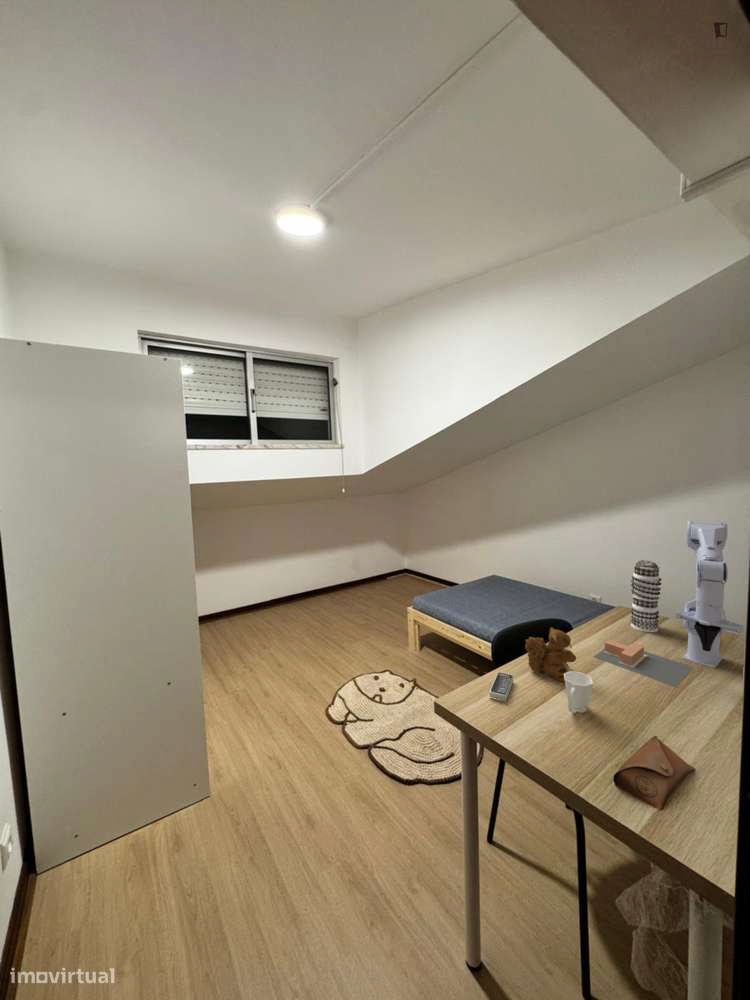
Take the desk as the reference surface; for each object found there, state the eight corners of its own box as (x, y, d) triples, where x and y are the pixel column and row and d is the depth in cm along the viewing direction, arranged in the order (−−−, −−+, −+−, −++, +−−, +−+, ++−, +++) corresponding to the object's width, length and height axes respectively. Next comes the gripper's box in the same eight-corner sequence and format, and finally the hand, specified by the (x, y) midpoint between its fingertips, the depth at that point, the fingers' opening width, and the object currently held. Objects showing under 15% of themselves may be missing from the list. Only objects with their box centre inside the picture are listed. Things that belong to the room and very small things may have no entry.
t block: (613, 645, 133) (613, 636, 132) (643, 655, 125) (644, 646, 125) (599, 654, 127) (600, 646, 126) (631, 665, 119) (631, 656, 119)
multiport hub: (489, 699, 107) (489, 691, 107) (498, 679, 116) (498, 671, 116) (505, 703, 105) (505, 695, 104) (513, 682, 114) (513, 675, 114)
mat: (614, 642, 135) (614, 641, 135) (694, 668, 118) (694, 667, 118) (593, 658, 126) (593, 656, 126) (676, 688, 108) (676, 687, 108)
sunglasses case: (662, 814, 71) (642, 773, 73) (625, 808, 76) (607, 770, 78) (697, 767, 81) (679, 732, 83) (662, 765, 86) (646, 732, 89)
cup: (596, 706, 102) (597, 677, 101) (585, 726, 94) (585, 694, 94) (567, 695, 107) (568, 667, 106) (554, 714, 99) (555, 684, 98)
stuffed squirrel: (577, 685, 111) (577, 641, 110) (524, 676, 117) (524, 634, 115) (574, 667, 120) (574, 626, 119) (525, 660, 126) (525, 620, 125)
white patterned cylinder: (661, 634, 140) (664, 566, 137) (630, 629, 144) (632, 563, 142) (658, 624, 148) (660, 560, 145) (629, 620, 152) (631, 557, 150)
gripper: (673, 599, 112) (670, 645, 113) (741, 614, 100) (738, 664, 102) (681, 594, 116) (678, 637, 117) (747, 607, 105) (744, 656, 106)
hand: (706, 649), depth 110 cm, fingers closed
